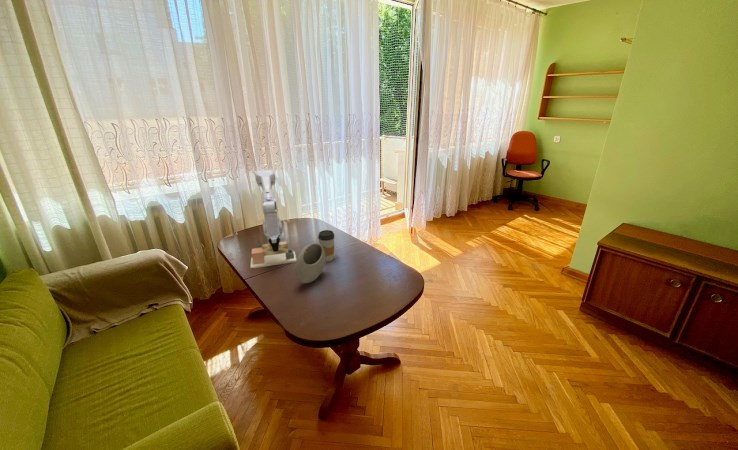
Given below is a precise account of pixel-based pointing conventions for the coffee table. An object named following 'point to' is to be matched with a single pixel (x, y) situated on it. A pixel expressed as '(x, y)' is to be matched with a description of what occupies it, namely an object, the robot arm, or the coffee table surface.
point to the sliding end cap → (257, 256)
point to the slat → (269, 251)
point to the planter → (310, 263)
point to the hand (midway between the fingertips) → (275, 249)
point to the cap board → (276, 259)
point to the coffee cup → (327, 243)
